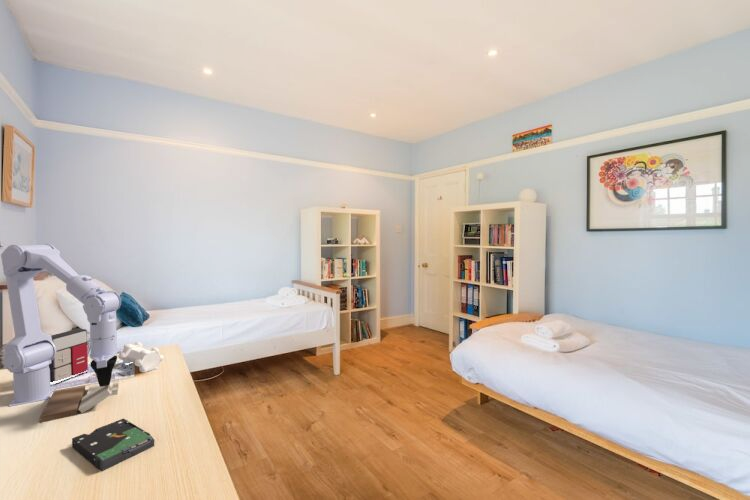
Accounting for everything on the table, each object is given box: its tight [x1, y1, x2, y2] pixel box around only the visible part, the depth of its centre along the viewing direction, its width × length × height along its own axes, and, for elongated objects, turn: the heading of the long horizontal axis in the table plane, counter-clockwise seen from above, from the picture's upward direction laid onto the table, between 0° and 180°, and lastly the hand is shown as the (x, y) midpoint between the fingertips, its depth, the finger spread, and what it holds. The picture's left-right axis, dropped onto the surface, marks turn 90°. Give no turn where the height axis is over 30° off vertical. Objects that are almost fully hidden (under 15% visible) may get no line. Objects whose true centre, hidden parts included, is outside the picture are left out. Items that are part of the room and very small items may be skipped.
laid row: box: [39, 385, 86, 424], centre depth 95 cm, size 17×7×2 cm, turn 34°
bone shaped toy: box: [117, 341, 164, 374], centre depth 122 cm, size 15×9×8 cm, turn 58°
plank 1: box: [86, 379, 120, 397], centre depth 103 cm, size 8×7×2 cm
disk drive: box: [71, 418, 155, 472], centre depth 77 cm, size 10×3×15 cm
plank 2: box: [78, 380, 113, 414], centre depth 95 cm, size 8×7×2 cm
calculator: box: [49, 328, 89, 382], centre depth 112 cm, size 11×4×15 cm, turn 168°
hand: (104, 385), depth 96 cm, fingers closed
